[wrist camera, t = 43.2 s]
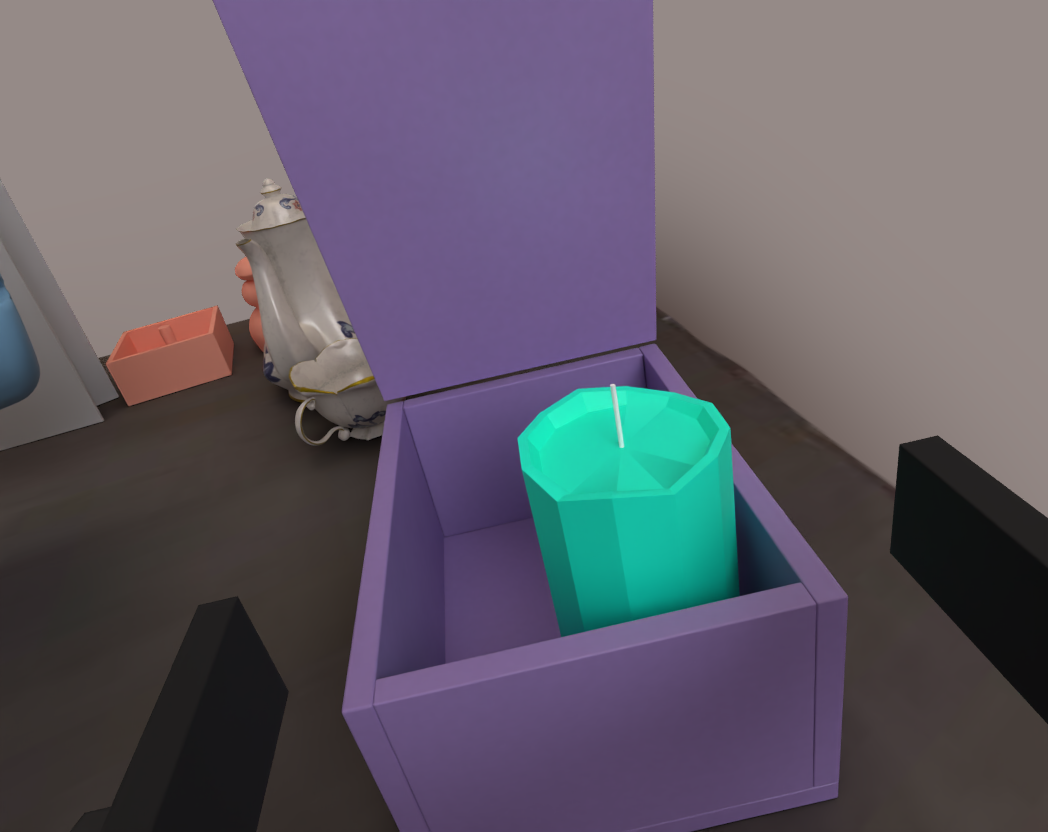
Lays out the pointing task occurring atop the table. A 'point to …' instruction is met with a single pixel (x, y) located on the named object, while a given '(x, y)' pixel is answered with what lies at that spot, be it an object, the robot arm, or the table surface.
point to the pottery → (180, 349)
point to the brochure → (47, 344)
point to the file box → (575, 646)
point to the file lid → (467, 172)
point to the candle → (631, 504)
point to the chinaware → (308, 323)
